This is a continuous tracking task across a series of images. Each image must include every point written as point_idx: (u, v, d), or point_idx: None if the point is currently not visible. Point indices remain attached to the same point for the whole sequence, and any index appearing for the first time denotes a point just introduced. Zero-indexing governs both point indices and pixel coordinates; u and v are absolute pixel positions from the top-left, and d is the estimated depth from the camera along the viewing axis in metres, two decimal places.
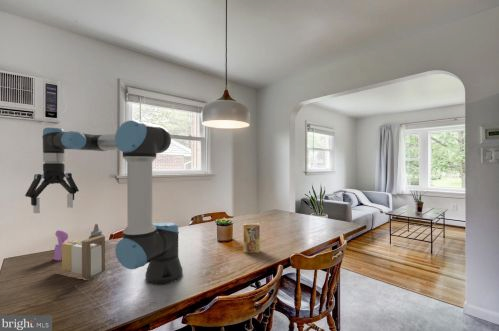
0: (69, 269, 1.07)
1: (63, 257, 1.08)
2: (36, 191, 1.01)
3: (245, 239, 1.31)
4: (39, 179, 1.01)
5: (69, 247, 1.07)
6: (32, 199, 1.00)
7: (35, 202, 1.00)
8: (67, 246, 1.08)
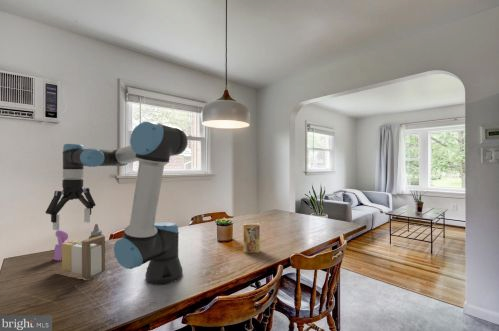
0: (69, 269, 1.07)
1: (63, 257, 1.08)
2: (56, 208, 1.01)
3: (245, 239, 1.31)
4: (59, 196, 1.01)
5: (69, 247, 1.07)
6: (52, 216, 1.00)
7: (55, 219, 1.00)
8: (67, 246, 1.08)
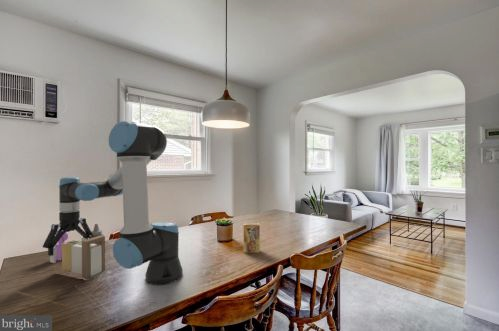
0: (69, 269, 1.07)
1: (63, 257, 1.08)
2: (53, 241, 1.04)
3: (245, 239, 1.31)
4: (56, 230, 1.04)
5: (69, 247, 1.07)
6: (49, 249, 1.03)
7: (52, 252, 1.03)
8: (67, 246, 1.08)
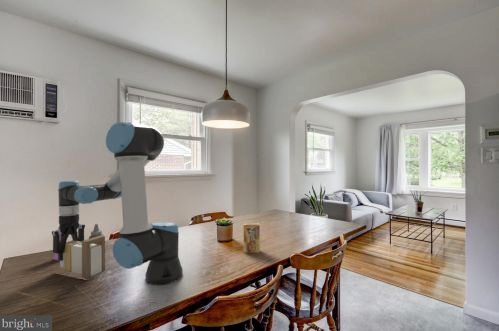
0: (68, 269, 1.07)
1: None
2: (60, 247, 1.07)
3: (245, 239, 1.31)
4: (58, 235, 1.05)
5: (68, 247, 1.07)
6: (59, 255, 1.07)
7: (62, 257, 1.07)
8: (66, 246, 1.08)
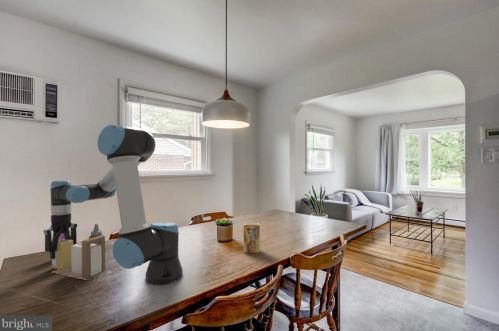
0: (60, 267, 1.09)
1: None
2: (52, 245, 1.09)
3: (245, 239, 1.31)
4: (50, 234, 1.07)
5: (60, 245, 1.09)
6: (51, 253, 1.08)
7: (54, 256, 1.09)
8: (58, 244, 1.10)
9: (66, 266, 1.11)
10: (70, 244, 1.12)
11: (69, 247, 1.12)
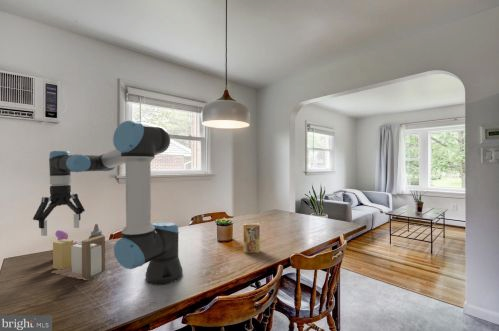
0: (60, 267, 1.09)
1: (54, 255, 1.10)
2: (43, 214, 1.03)
3: (245, 239, 1.31)
4: (46, 202, 1.03)
5: (60, 245, 1.09)
6: (40, 222, 1.02)
7: (43, 225, 1.02)
8: (58, 244, 1.10)
9: (66, 266, 1.11)
10: (70, 244, 1.12)
11: (69, 247, 1.12)
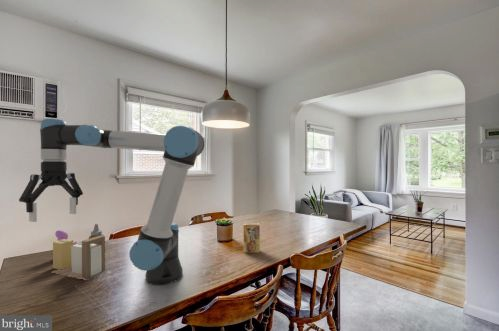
0: (60, 267, 1.09)
1: (54, 255, 1.10)
2: (32, 195, 0.84)
3: (245, 239, 1.31)
4: (36, 180, 0.84)
5: (60, 245, 1.09)
6: (27, 205, 0.82)
7: (31, 208, 0.83)
8: (58, 244, 1.10)
9: (66, 266, 1.11)
10: (70, 244, 1.12)
11: (69, 247, 1.12)
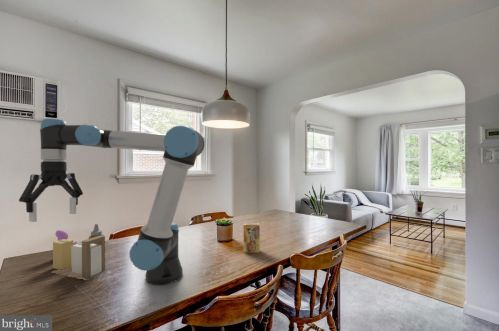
0: (60, 267, 1.09)
1: (54, 255, 1.10)
2: (32, 195, 0.84)
3: (245, 239, 1.31)
4: (36, 180, 0.84)
5: (60, 245, 1.09)
6: (27, 205, 0.82)
7: (31, 208, 0.83)
8: (58, 244, 1.10)
9: (66, 266, 1.11)
10: (70, 244, 1.12)
11: (69, 247, 1.12)
